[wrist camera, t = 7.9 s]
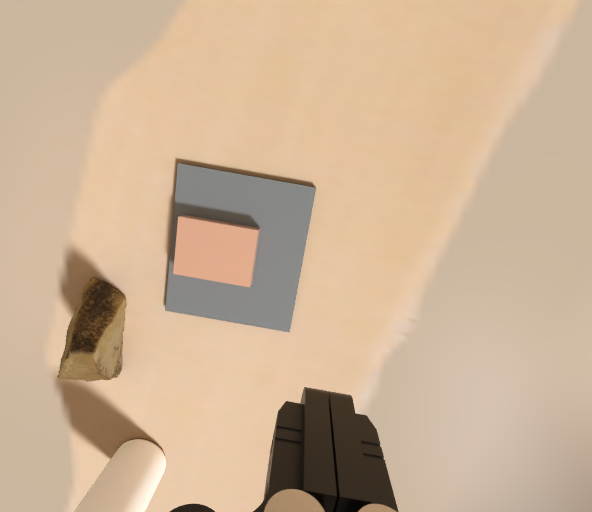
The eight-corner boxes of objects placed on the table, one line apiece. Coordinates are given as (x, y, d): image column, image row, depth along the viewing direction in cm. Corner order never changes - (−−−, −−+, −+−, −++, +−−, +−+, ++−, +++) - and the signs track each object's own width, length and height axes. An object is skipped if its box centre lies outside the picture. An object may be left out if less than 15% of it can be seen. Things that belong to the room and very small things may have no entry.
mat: (180, 163, 34) (177, 163, 33) (315, 187, 34) (315, 187, 33) (167, 308, 37) (165, 310, 37) (289, 329, 38) (289, 332, 37)
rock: (129, 401, 38) (165, 342, 34) (38, 428, 31) (71, 357, 28) (99, 330, 43) (128, 272, 40) (16, 339, 36) (42, 271, 33)
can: (116, 433, 42) (42, 533, 30) (168, 439, 42) (113, 541, 30) (118, 475, 43) (48, 586, 32) (167, 481, 43) (115, 594, 31)
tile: (260, 228, 34) (184, 214, 34) (258, 230, 33) (178, 216, 33) (252, 282, 36) (179, 269, 36) (249, 287, 34) (173, 273, 34)
